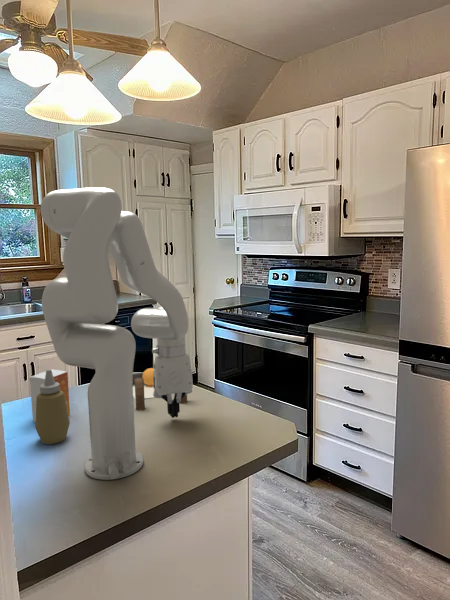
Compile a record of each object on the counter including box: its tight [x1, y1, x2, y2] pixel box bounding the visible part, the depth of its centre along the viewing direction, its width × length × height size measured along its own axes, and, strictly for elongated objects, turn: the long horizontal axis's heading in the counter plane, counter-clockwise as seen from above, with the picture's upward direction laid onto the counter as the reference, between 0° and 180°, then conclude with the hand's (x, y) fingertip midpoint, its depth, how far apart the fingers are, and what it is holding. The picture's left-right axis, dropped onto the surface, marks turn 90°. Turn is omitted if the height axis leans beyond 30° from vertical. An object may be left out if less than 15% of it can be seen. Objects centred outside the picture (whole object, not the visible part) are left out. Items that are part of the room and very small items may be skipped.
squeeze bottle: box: [35, 369, 71, 445], centre depth 115 cm, size 8×8×18 cm
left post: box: [134, 378, 146, 411], centre depth 135 cm, size 3×3×9 cm
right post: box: [179, 394, 188, 404], centre depth 140 cm, size 3×3×9 cm
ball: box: [142, 367, 154, 386], centre depth 157 cm, size 6×6×6 cm
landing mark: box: [133, 384, 174, 401], centre depth 151 cm, size 13×13×1 cm
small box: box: [29, 368, 71, 423], centre depth 129 cm, size 8×6×13 cm
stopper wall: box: [133, 371, 144, 386], centre depth 160 cm, size 2×10×4 cm, turn 112°
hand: (173, 415), depth 126 cm, fingers closed
